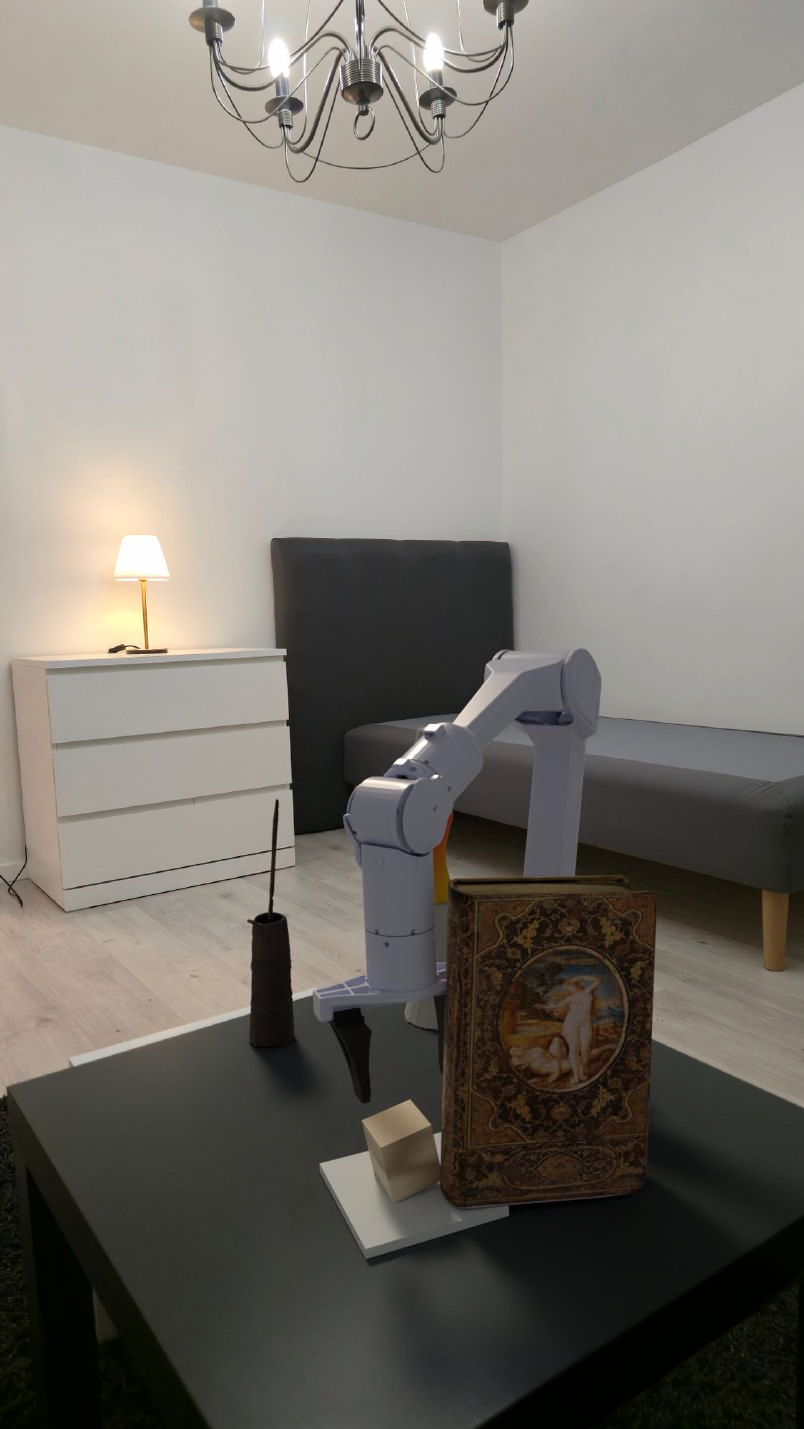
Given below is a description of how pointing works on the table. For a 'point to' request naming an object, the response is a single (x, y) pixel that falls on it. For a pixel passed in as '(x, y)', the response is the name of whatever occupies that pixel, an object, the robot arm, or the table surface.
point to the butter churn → (271, 971)
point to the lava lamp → (424, 1009)
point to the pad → (395, 1208)
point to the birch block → (402, 1150)
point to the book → (546, 1039)
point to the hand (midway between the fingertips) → (406, 1086)
